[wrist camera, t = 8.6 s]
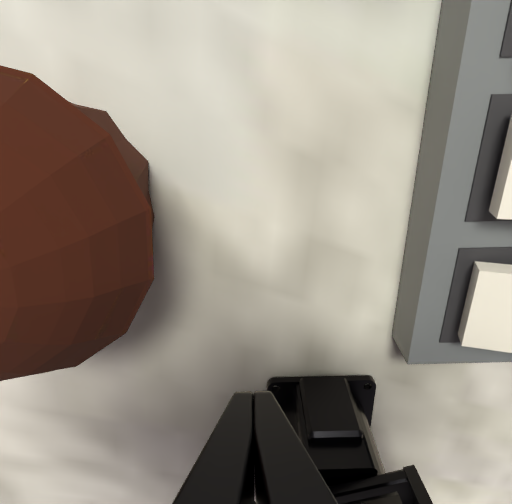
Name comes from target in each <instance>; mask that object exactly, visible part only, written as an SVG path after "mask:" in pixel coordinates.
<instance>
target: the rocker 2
mask: <svg viewBox="0 0 512 504" xmlns="http://www.w3.org/2000/svg"><path fill="white" fill-rule="evenodd" d="M489 212H490V213H491V214H492V215H493V216H494V217H495V218H496V219H510V220H512V114H511V119H510V123H509V127H508V131H507V136H506V140H505V144H504V148H503V153H502V157H501V161H500V165H499V170H498V174H497V178H496V182H495V187H494V191H493V195H492V199H491V204H490V208H489Z"/></svg>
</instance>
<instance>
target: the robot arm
mask: <svg viewBox="0 0 512 504" xmlns="http://www.w3.org/2000/svg"><path fill="white" fill-rule="evenodd" d="M367 383H369V384H368V385H365V384H367ZM273 386H278V387H273ZM375 390H376V384H375V381H374V379H373V378H372V377H371V376H367V375H366V376H322V377H279V378H272V379H270V380H269V381H268V383H267V391H255V392H254V393H252V392H250V391H247V392H236V393H234V395H233V396H232V398H231V400H230V402H229V403H228V405H227V407H226V409H225V411H224V412H223V414H222V416H221V418H220V419H219V421H218V423H217V425H216V427H215V428H214V430H213V432H212V434H211V435H210V437H209V439H208V441H207V443H206V444H205V446H204V448H203V450H202V451H201V453H200V455H199V457H198V459H197V460H196V462H195V464H194V466H193V467H192V469H191V471H190V473H189V475H188V476H187V478H186V480H185V482H184V483H183V485H182V487H181V489H180V491H179V492H178V494H177V496H176V498H175V499H174V501H173V503H172V504H433V503H432V501H431V499H430V497H429V495H428V493H427V491H426V488H425V486H424V484H423V482H422V480H421V478H420V476H419V474H418V472H417V470H416V468H415V466H414V465H411V466H406V467H403V469H402V470H398V471H394V472H389V473H385V471H384V468H383V465H382V462H381V459H380V456H379V453H378V450H377V447H376V444H375V441H374V438H373V435H372V432H371V429H370V426H371V418H372V411H373V404H374V397H375ZM254 467H255V471H254ZM254 496H256V502H255V501H254Z"/></svg>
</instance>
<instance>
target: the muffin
mask: <svg viewBox="0 0 512 504" xmlns="http://www.w3.org/2000/svg"><path fill="white" fill-rule="evenodd" d="M153 221H154V213H153V208H152V204H151V199H150V194H149V184H148V161H147V160H146V159H145V158H144V157H143V156H142V155H141V154H140V153H139V152H138V151H137V150H136V149H135V148H134V147H133V146H132V145H131V144H130V143H129V142H128V141H127V140H126V138H125V137H124V136H123V134H122V133H121V131H120V130H119V129H118V127H117V126H116V124H115V123H114V122H113V120H112V119H111V117H110V116H109V115H108V113H107V112H106V111H102V110H98V109H93V108H89V107H85V106H80V105H76V104H73V103H71V102H68V101H67V100H66V99H64V98H63V97H62V96H60V95H59V94H58V93H57V92H55V91H54V90H53V89H51V88H50V87H49V86H48V85H46V84H45V83H44V82H42V81H41V80H40V79H39V78H37V77H36V76H35V75H33V74H31V73H27V72H23V71H19V70H16V69H12V68H8V67H4V66H0V381H2V380H8V379H13V378H18V377H23V376H29V375H34V374H39V373H45V372H49V371H54V370H58V369H64V368H70V367H76V366H78V365H79V364H81V363H82V362H84V361H85V360H87V359H88V358H90V357H91V356H93V355H94V354H95V353H97V352H98V351H100V350H101V349H103V348H104V347H106V346H107V345H109V344H110V343H112V342H113V341H115V340H116V339H118V338H119V337H121V336H122V335H124V334H125V333H126V332H127V330H128V328H129V326H130V324H131V322H132V321H133V319H134V317H135V315H136V313H137V311H138V309H139V307H140V305H141V303H142V301H143V299H144V297H145V295H146V293H147V291H148V289H149V288H150V286H151V284H152V282H153V280H154V265H153V242H152V226H153Z"/></svg>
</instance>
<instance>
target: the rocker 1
mask: <svg viewBox="0 0 512 504" xmlns="http://www.w3.org/2000/svg"><path fill="white" fill-rule="evenodd" d="M458 336H459V339H460V343H461V346H466V347H473V348H480V349H487V350H494V351H501V352H508V353H512V265H510V264H499V263H488V262H478V261H475V262H474V266H473V270H472V275H471V279H470V283H469V287H468V292H467V296H466V300H465V305H464V309H463V313H462V318H461V322H460V326H459V330H458Z"/></svg>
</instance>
